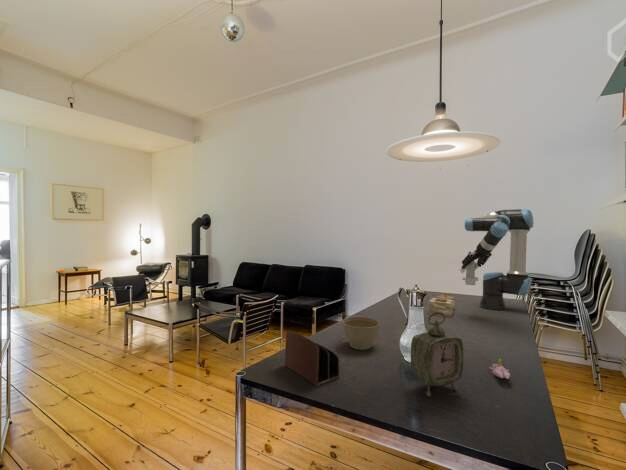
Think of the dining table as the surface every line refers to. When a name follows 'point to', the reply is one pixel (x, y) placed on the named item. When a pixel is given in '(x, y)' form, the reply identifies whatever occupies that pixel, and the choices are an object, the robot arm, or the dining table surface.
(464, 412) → the dining table surface
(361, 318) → the planter bowl
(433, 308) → the beige streaked bowl
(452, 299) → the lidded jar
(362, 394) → the dining table surface
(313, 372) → the letter holder
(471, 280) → the grey green flanged column
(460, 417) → the dining table surface
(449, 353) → the tabletop clock
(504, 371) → the pink flower
